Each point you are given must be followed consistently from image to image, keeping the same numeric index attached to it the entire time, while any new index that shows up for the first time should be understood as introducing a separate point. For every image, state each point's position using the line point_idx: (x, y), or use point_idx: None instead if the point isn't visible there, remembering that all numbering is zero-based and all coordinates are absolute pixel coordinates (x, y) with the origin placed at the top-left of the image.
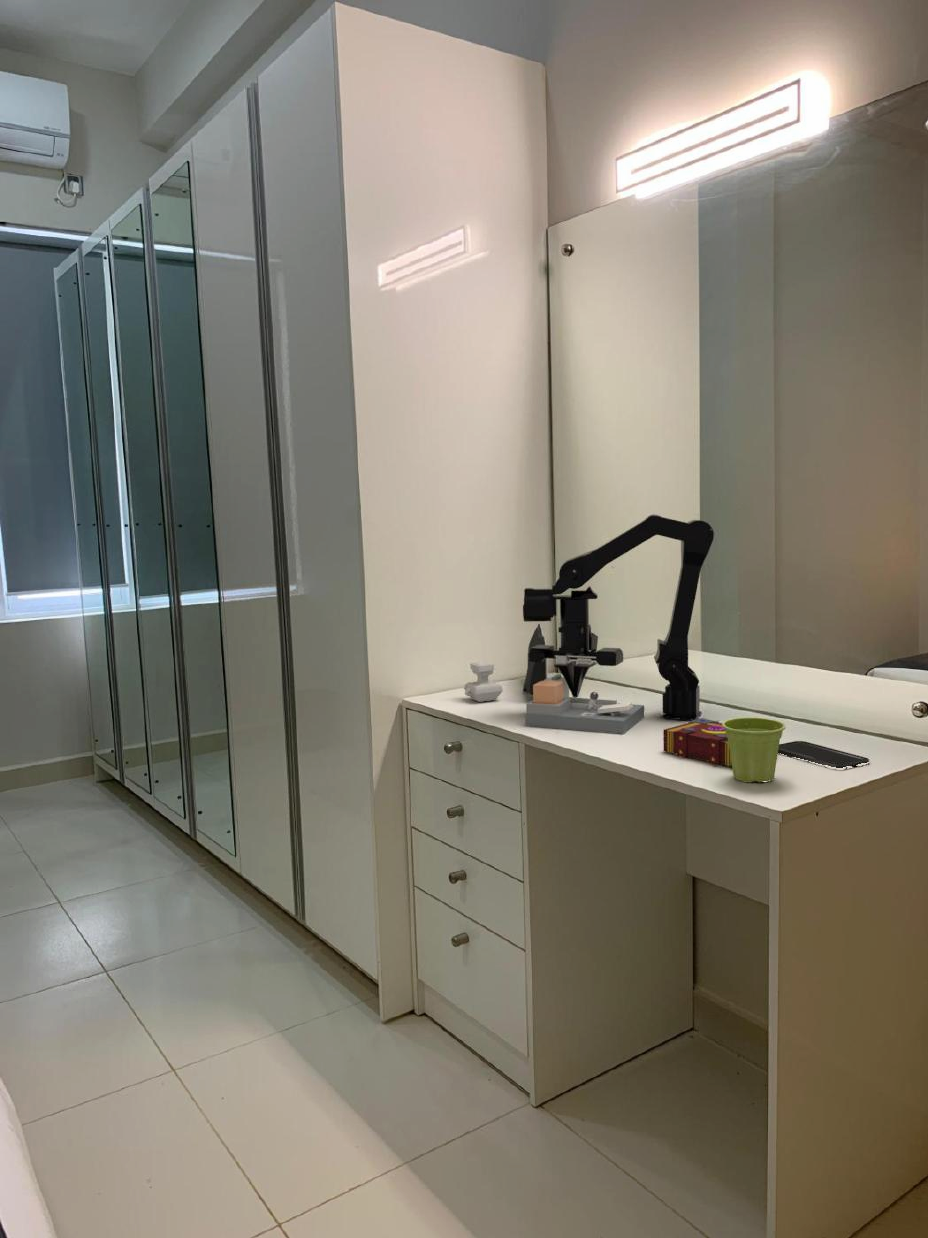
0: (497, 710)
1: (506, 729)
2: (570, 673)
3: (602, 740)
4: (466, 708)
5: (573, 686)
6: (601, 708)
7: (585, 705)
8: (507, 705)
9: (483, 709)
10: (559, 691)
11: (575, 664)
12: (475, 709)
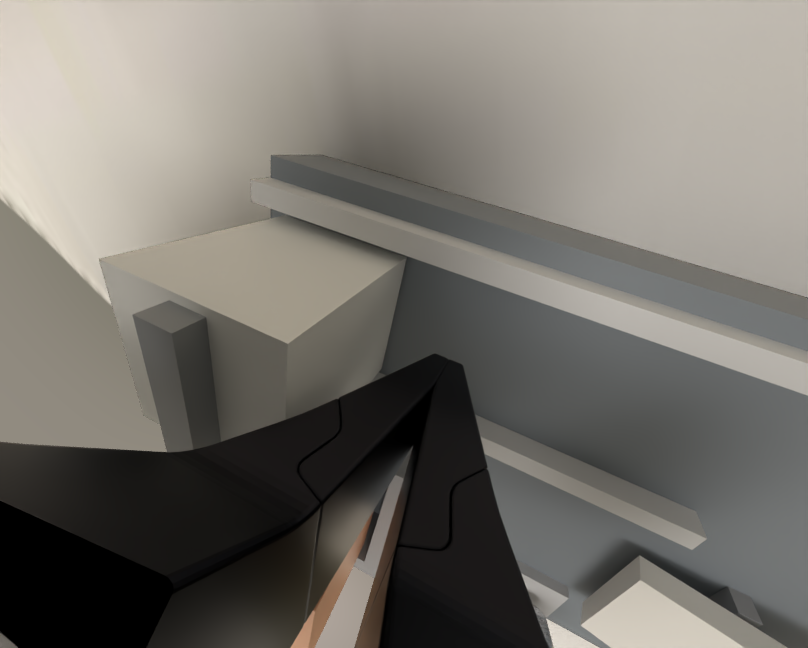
0: (117, 173)
1: None
2: (303, 614)
3: (569, 640)
4: (18, 143)
5: (399, 465)
6: (608, 632)
7: (520, 464)
8: (86, 30)
9: (69, 157)
10: (337, 584)
11: (203, 611)
12: (50, 160)
